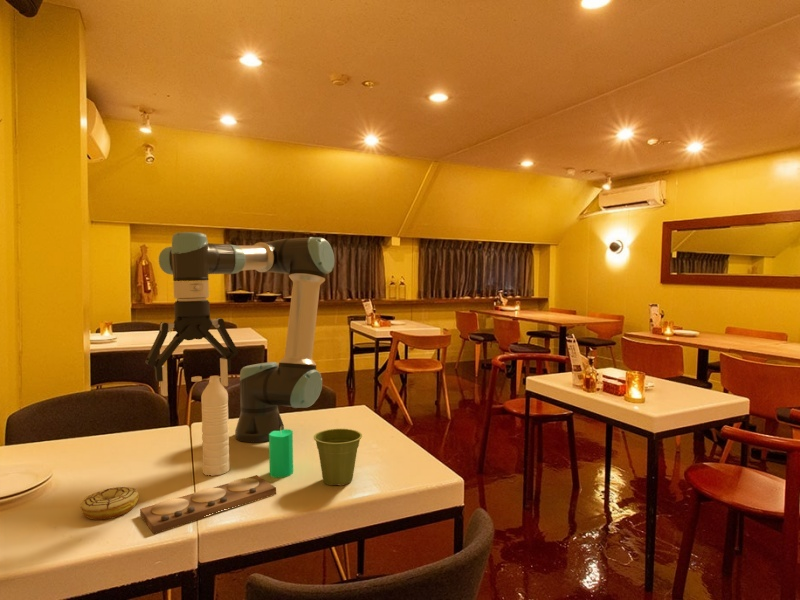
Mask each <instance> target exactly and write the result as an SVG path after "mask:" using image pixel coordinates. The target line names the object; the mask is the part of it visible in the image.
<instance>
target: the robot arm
mask: <svg viewBox="0 0 800 600" xmlns="http://www.w3.org/2000/svg"><path fill="white" fill-rule="evenodd" d="M158 264H159V267H160V269H161V271H163V272H164V273H165V274H166V275H171V276H172V278H173V279H172V281H173V283H172V284H173V298H174V299H176V301H174V302H173V304H174V305H173V306H174V307H173V308H174V309H173V310H174V321H173V322H165V321H162V322H160V323H159V329H158V334H157V336H156V338H155V340H154V342H153V343H152V347H151V348H150V351H148V354H147V356H146V359H145V361H144V363H145V364H146V365H148V366H150V367H154V379H155V381H156V382H160V395H161V396H163V397H168V396H169V394H168V371H167V366H165V363H166V362H167V361H168V360H169V358H170V357H171V356H172V355H173V353H174V351H176V350H177V348H178V347H179V345H180V344H182V343H183V341H184V340H185V341H193V340H202V339H205V340H206V341H207V342H208V343H209V345H211V346H212V347H213V348H214V349H215V350H216V351H217V352H218V353H219V354H220V355H221V356H222V357H220V358H219V368H220V372H219V373H220V383H221V385H223V386H224V387H228V386H229V375H228V374H229V373H228V372H231V370H232V359H233V357H235V356H237V355H238V354H239V349H238V347H236V345H235V343H234V340H233V339H232V338H231V335H230V334H229V332H228V331H227V328H226V326H225V320H224V319H223V318H219V317H217V318H216V319H211V312H210V310H211V307H210V301H209V300H208V299H207V298H210V287H209V280H210V279H209V275H233V274H238V273H240V272H242V271H253V270H254V271H257V272H258V273H276V274H286V275H287V274H288V277H289V279H290V280H291V281H292V287H291V289H292V290H291V297H290V298H291V299H290V307H289V315H288V325H287V334H286V339H285V340H286V341H285V350H284V357H283V358H281V359H280V360H279V361H278V362H276V361H269V362H261V363H256V364H250V365H246V366H243V367H242V368H241V369H240V372H239V398H240V399H239V401H240V413H239V417H238V420H237V424H236V428H235V429H234V430H235V431H234V438H235V439H236V441H239V442H243V443H261V442H262V443H263V442H269V434H270V433H271V432H272V431H280V430H284V429H285V426H284V423H283V419H282V417H281V415H280V411H279V406H280V407H281V406H283V407H290V408H293V409H298V408H300V409H301V408H305V409H306V408H309V407H311V406H312V405H314V404H315V403H316V401H317V400H318V399H319V397H320V395H321V392H322V388H323V378H322V374H321V373H320V371H318V370H317V364H316V362H315V360H314V359H313V355H314V345H315V336H316V327H317V326H316V325H317V315H318V306H319V297H320V288H321V285H322V284H324V282H325V281H326V276H327V275H328V274H330V273H331V272H333V270H334V267H335V254H334V250H333V248H332V245H331V244H330V243H329V241H328V240H326V239H325V238H323V237H314V236H310V237H297V238H296V237H294V238H283V239H276V240H271V241H265V242H263V241H262V242H261V241H260V242H256V243H254V244H252V245H235V244H231V243H214V242H213V243H211V242H209V241H208V238H207V234H205V233H203V232H194V231H193V232H191V231H189V232H188V231H187V232H186V231H184V232H176V233H174V234H173V235H172V237H171V246H167V247H164V248H163V249H162V250H161V251H160V253H159V254H158ZM326 274H327V275H326ZM212 326H213V327H214V328H216V330H217V331H218V334H219V335H220V337H221V339H222V341H223V342H224V344H225V346H226V347H224V346H223V345H222V344H221V343H220V341H218V340H217V338H215V336H214V335H213V334H212V333H211V331H209V330H210V329H211V327H212ZM172 329H174V330H175V332H176V334H175V335H174V336H173V337H172V340H171V341H170V342H169V344H168V345H167V346H166V347H165V348H164V350H163V351H162V352H161V353H160V351H161V349H162V347H163V345H164V343H165V340H166V339H167V336H168V333H171V331H172ZM226 348H227V349H228V350H227V349H226ZM159 353H160V354H159ZM158 355H159V356H158Z"/></svg>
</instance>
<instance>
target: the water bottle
mask: <svg viewBox="0 0 800 600" xmlns="http://www.w3.org/2000/svg"><path fill="white" fill-rule="evenodd" d="M190 379H191V380H190V381H191V382H201V381H203V377H202V376H200V375H197V376H196V375H195V376H192V377H191V378H190ZM208 381H209V382H208V383H207V384H206V387H205V388H204V389H203V391H202V393H201V397H200V399H201V433H202V434H201V439H202V442H201V443H202V445H201V446H202V453H201V454H202V473H204V474H205V476H207V475H208V476H209V475H211V476H210V477H214V476H221V475H223V474H226V473H228V472H229V471H230V445H229V443H230V439H229V437H230V432H229V429H230V427H229V394H228V390H227V389H226V387H225V386H223V385H221V378H220V376H219V375H210V376H209V379H208Z"/></svg>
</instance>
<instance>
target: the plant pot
mask: <svg viewBox="0 0 800 600" xmlns="http://www.w3.org/2000/svg"><path fill="white" fill-rule="evenodd" d="M362 437H363V434H362V433H361V432H360V431H358V430H356V429H351V428H330V429H326V430H320V431H318V432H316V433H315V434H314V435H313V440H314V441H315V443H316V448H317V450H318V451H317V452H318V457H319V463H320V464H319V465H320V468H321V476H322V481H323V483H324V484H325V485H328V486H335V485H337V486H344V485H348V484H350V483H351V482H352V481H353V478H354V472H355V467H356V465H355V464H356V459H357V453H358V448H359V446H360V440H361V439H362Z"/></svg>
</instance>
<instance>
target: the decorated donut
mask: <svg viewBox="0 0 800 600" xmlns="http://www.w3.org/2000/svg"><path fill="white" fill-rule="evenodd" d="M139 497H140V494H139V491H138V490H137V488H134V487H129V486H127V487H125V486H122V487H121V486H118V487H117V486H116V487H111V488H106V489H103V490H99V491H96V492H94V493H91V494H90V495H88V496H86V497H85V498H84V499H83V500H82V502H81V503H80V506H79V507H80V510H81V512H82V514H83V515H84V516H85V517H86V518H89V519H91V520H93V521H95V520H97V521H99V520H108V519H114V518H118V517H120V516H121V515H125V514H128V513H129V512H131V510H132V509H134V507H135V506H136V505H137V504H138V503H137V502H138V500H139V499H140V498H139Z"/></svg>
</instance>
